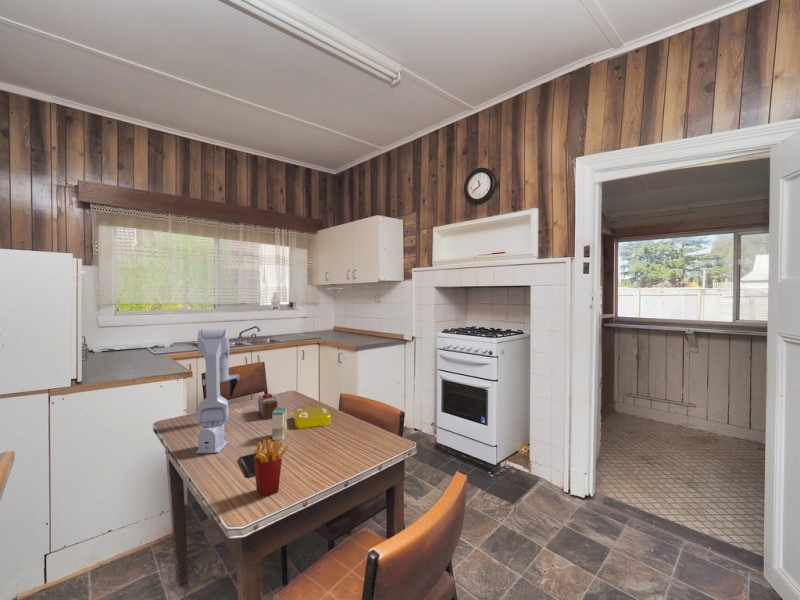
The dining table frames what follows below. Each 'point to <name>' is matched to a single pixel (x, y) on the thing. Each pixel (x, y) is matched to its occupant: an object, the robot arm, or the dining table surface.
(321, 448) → the dining table surface
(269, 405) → the food item
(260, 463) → the french fries
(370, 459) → the dining table surface
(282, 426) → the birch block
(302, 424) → the yellow flat box
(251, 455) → the phone
